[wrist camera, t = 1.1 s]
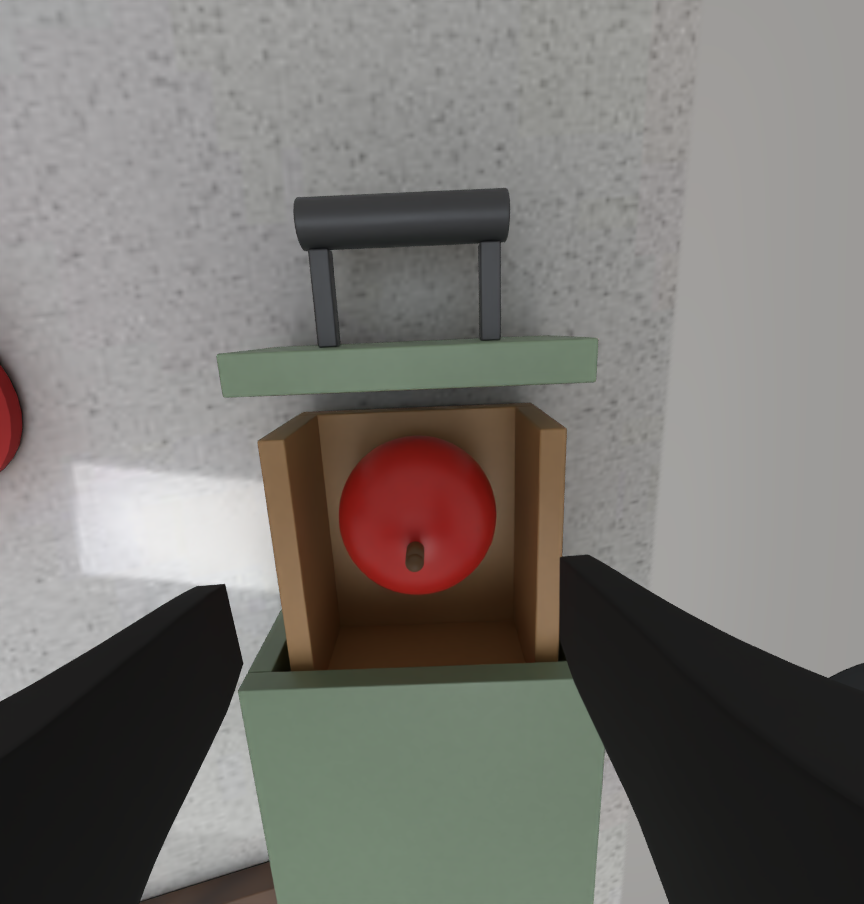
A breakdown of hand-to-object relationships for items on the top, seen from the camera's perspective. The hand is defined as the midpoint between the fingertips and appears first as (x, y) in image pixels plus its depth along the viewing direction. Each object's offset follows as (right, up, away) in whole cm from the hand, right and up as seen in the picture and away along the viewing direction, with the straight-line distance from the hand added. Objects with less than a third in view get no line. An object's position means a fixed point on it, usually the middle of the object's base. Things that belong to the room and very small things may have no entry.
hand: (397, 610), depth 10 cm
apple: (0, +2, +8) cm, 8 cm away
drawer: (0, +4, +9) cm, 9 cm away
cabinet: (+1, -8, +13) cm, 15 cm away
